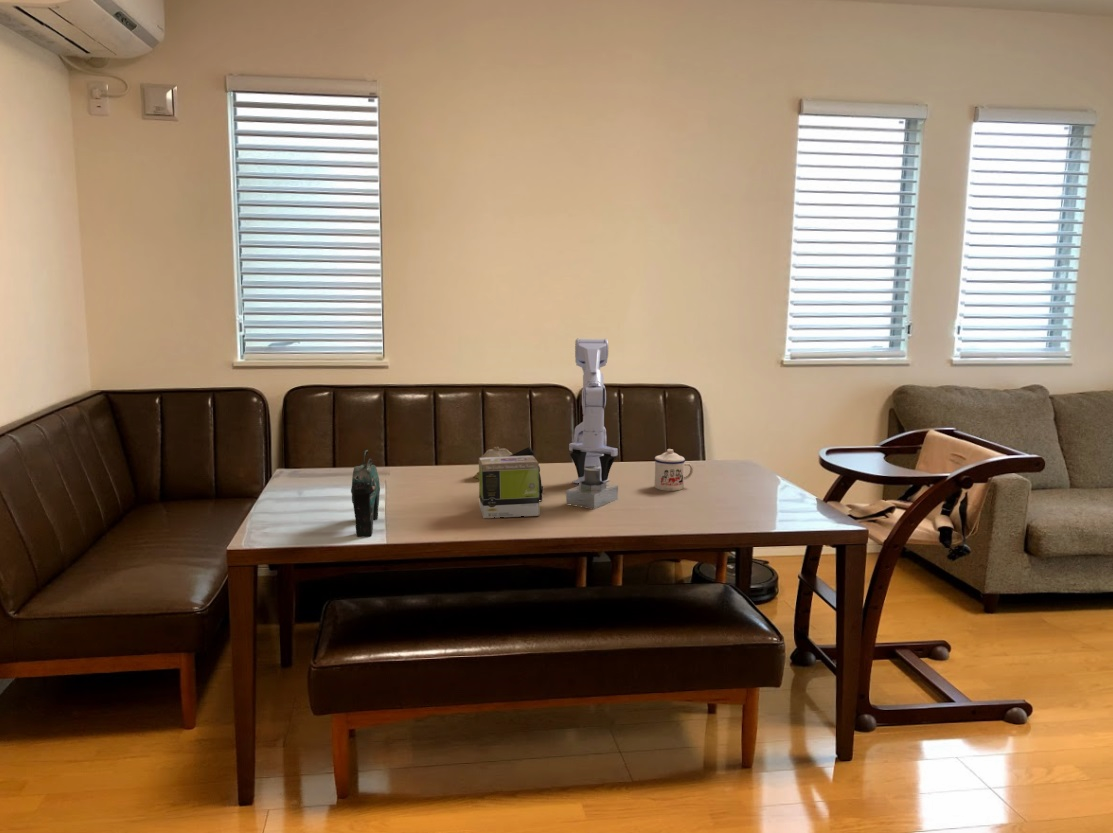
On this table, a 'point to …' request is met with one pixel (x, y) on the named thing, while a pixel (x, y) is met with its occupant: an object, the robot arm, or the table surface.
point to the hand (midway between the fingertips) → (592, 478)
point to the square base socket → (592, 495)
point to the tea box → (509, 486)
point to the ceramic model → (495, 455)
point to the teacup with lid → (670, 471)
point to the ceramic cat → (365, 497)
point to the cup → (592, 475)
